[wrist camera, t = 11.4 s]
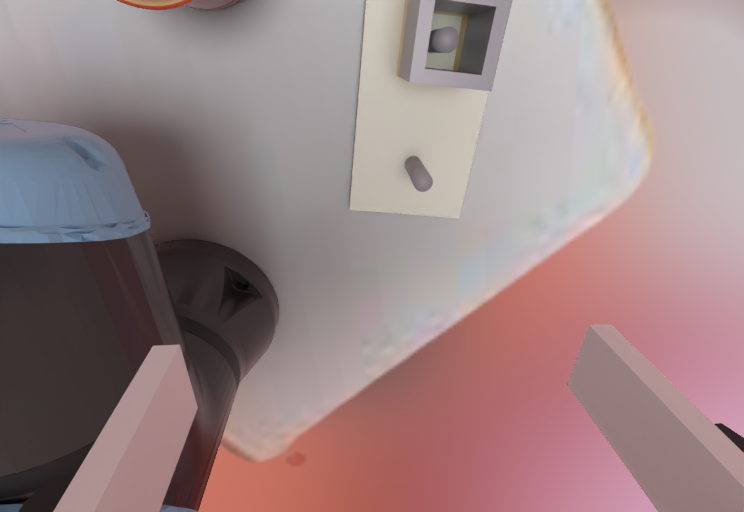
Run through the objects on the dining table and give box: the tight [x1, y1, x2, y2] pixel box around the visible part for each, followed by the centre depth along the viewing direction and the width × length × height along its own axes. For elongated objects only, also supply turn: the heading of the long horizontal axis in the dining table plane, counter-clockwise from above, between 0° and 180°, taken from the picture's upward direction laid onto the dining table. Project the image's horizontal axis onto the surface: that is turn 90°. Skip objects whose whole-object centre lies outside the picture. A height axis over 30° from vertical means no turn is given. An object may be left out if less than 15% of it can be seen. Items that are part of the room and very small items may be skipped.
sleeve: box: [396, 0, 512, 91], centre depth 24 cm, size 5×5×7 cm
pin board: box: [349, 0, 489, 218], centre depth 28 cm, size 10×18×6 cm, turn 174°
